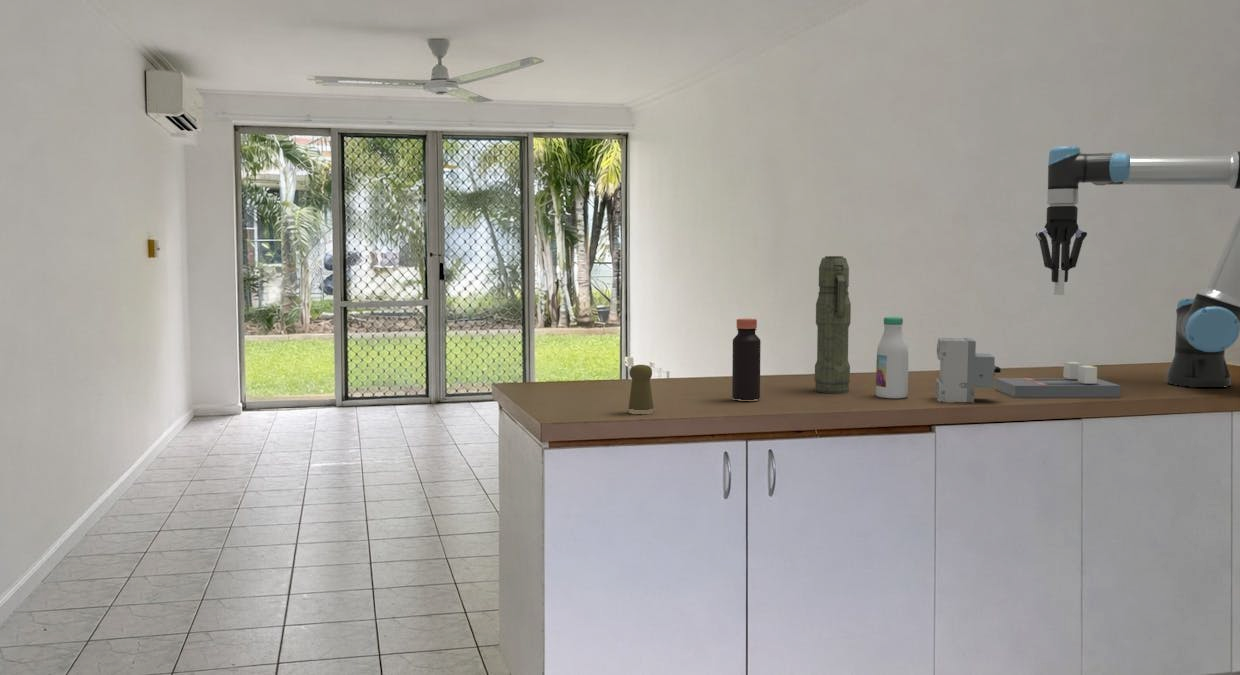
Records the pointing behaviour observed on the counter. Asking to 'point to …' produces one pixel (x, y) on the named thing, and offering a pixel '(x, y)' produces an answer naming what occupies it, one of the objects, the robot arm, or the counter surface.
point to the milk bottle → (892, 361)
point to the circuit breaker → (962, 370)
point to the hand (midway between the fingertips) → (1059, 294)
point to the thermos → (833, 326)
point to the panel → (1056, 388)
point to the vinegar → (746, 361)
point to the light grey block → (1071, 370)
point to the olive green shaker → (641, 388)
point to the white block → (1087, 374)
